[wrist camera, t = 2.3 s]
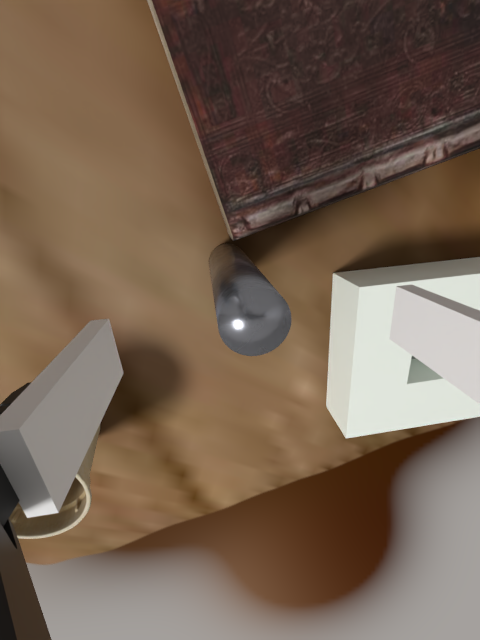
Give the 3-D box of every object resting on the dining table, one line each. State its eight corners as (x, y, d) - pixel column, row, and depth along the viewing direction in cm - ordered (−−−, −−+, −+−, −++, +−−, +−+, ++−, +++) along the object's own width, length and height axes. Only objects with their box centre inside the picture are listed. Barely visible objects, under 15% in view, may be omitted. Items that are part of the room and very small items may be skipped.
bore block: (333, 272, 28) (359, 287, 23) (485, 256, 29) (538, 266, 25) (326, 406, 34) (345, 438, 29) (451, 387, 35) (489, 414, 31)
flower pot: (130, 401, 30) (106, 472, 22) (101, 464, 33) (71, 547, 25) (33, 371, 28) (-33, 440, 20) (11, 442, 30) (-56, 528, 22)
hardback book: (229, 236, 26) (235, 243, 21) (127, -54, 18) (103, -140, 14) (539, 119, 25) (613, 101, 21) (565, -227, 18) (692, -374, 13)
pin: (206, 245, 25) (214, 292, 12) (245, 241, 26) (291, 283, 13) (211, 282, 27) (222, 360, 14) (247, 279, 27) (291, 350, 14)
